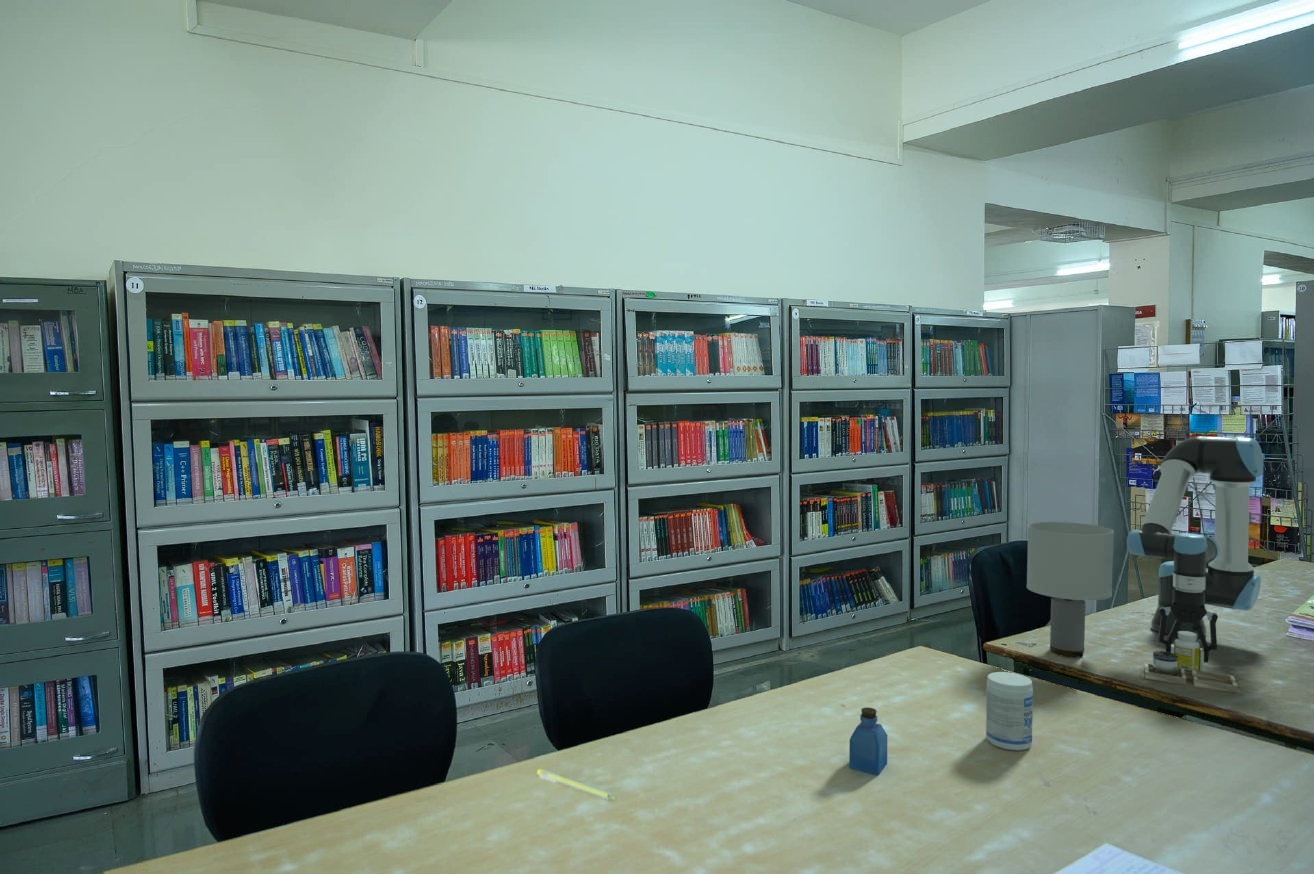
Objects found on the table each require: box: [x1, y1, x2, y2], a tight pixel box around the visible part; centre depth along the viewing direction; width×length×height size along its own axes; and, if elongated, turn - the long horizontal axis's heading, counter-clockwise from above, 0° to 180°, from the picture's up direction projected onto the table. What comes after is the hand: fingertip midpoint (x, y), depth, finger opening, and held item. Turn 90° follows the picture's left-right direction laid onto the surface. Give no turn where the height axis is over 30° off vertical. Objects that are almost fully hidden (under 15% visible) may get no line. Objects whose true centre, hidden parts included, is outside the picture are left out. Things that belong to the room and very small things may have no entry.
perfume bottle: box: [848, 707, 888, 777], centre depth 166 cm, size 6×6×12 cm
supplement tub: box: [985, 671, 1034, 751], centre depth 177 cm, size 10×10×15 cm
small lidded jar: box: [1152, 650, 1178, 676], centre depth 214 cm, size 6×6×6 cm
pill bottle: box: [1173, 631, 1201, 673], centre depth 221 cm, size 6×6×11 cm
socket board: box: [1140, 662, 1243, 695], centre depth 212 cm, size 11×22×3 cm, turn 59°
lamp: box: [1026, 521, 1115, 658], centre depth 237 cm, size 23×23×38 cm
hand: (1186, 670), depth 221 cm, fingers closed on pill bottle, 6 cm apart
